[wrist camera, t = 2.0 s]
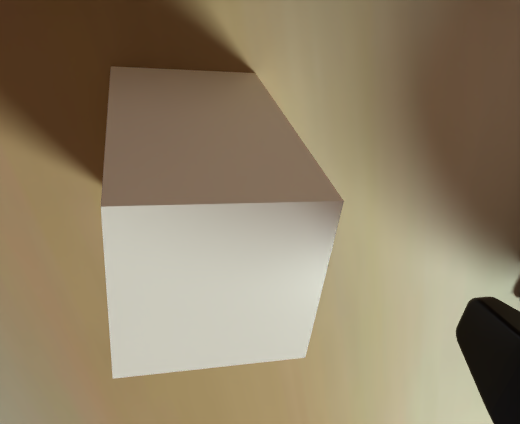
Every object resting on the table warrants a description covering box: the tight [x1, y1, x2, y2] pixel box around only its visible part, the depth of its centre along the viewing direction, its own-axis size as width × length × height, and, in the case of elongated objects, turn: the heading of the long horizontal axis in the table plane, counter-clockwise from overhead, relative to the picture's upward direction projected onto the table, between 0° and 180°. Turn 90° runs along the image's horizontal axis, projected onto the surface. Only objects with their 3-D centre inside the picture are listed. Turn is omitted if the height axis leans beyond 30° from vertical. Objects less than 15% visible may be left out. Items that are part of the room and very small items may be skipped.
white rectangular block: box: [101, 66, 344, 378], centre depth 12 cm, size 4×4×7 cm
